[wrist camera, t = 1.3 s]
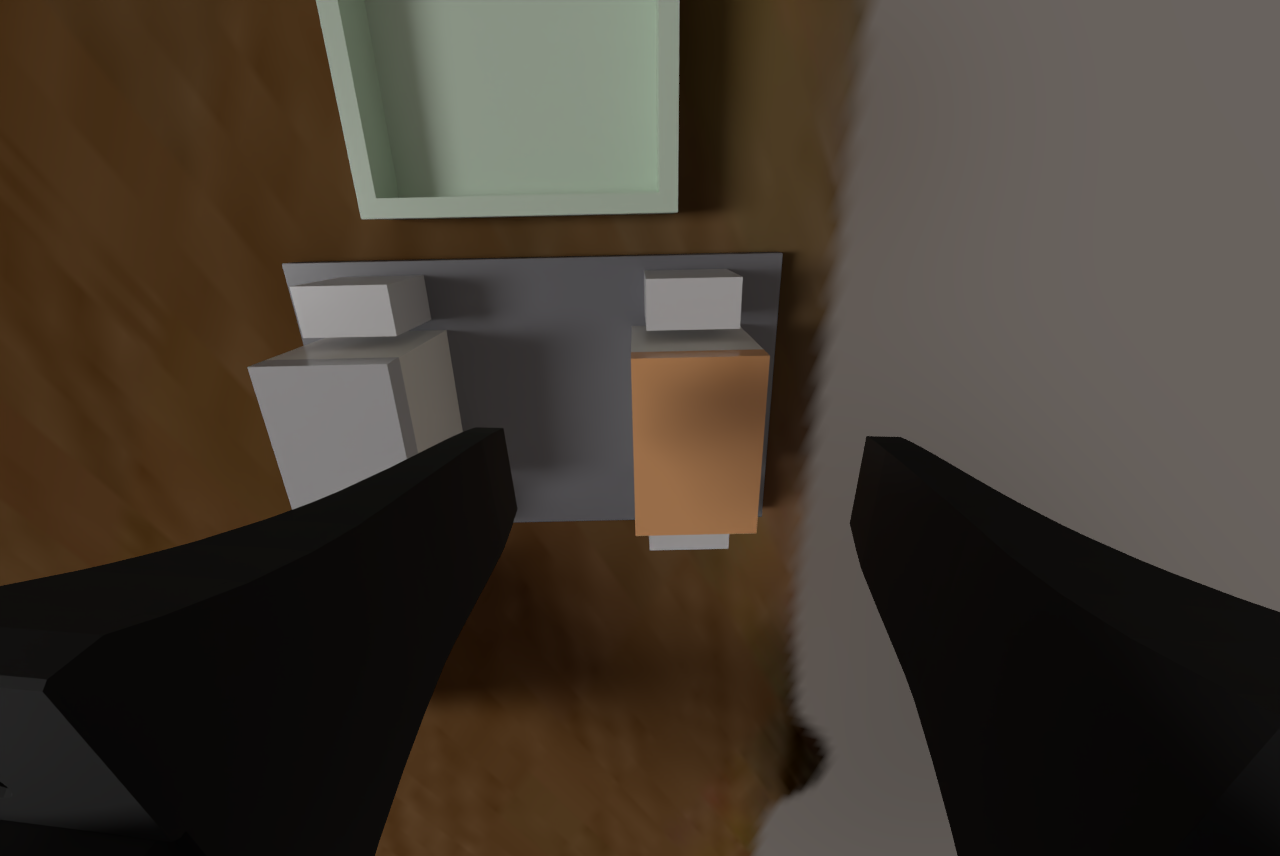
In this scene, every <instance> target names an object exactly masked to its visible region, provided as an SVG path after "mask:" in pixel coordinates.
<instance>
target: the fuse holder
mask: <svg viewBox="0 0 1280 856" xmlns="http://www.w3.org/2000/svg"><path fill="white" fill-rule="evenodd" d="M782 256H783V253H780V252H747V253H701V254H654V255H608V256H561V257H514V258H468V259H421V260H375V261H328V262H293V263H285V264H282V266H283V270H284V273H285V277H286V281H287V284H288V288H289V292H290V296H291V299H292V303H293V307H294V311H295V314H296V318H297V322H298V325H299V329H300V333H301V337H302V340H303V344H304V346H305V345H308V344H310V343H313V342H316V341H319V340H321V339H324V338H336V337H382V336H398V335H400V334H402V333H404V332H407V331H424V330H446V331H447V337H448V343H449V349H450V356H451V362H452V368H453V374H454V380H455V387H456V393H457V399H458V405H459V411H460V418H461V424H462V430H463V432H464V431H466V430H469V429H472V428H475V427H484V428H504V434H505V439H506V445H507V451H508V457H509V463H510V468H511V474H512V480H513V486H514V491H515V497H516V503H517V512H516V515H515V518H514V522H551V521H595V520H635V494H634V457H633V420H632V383H631V334H632V326H646V331H658V330H704V329H740V327H741V328H742V329H743V330H744V331H745V332H746V333H747V334H748V335H749V336H751V337H752V338H753V339H754V340H755V341H756V342H757V343H758V344H759V345H760V346H761V347H762V348H763V349H764V350H765V351H766V352H767V353H768V354H769V355H770V362H769V375H768V388H767V401H766V415H765V428H764V441H763V454H762V467H761V480H760V493H759V506H758V517H762V506H763V493H764V481H765V468H766V456H767V443H768V431H769V418H770V406H771V393H772V381H773V368H774V356H775V343H776V331H777V318H778V306H779V293H780V281H781V268H782ZM649 543H650V550H688V549H728V545H729V534H703V535H658V536H649Z"/></svg>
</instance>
